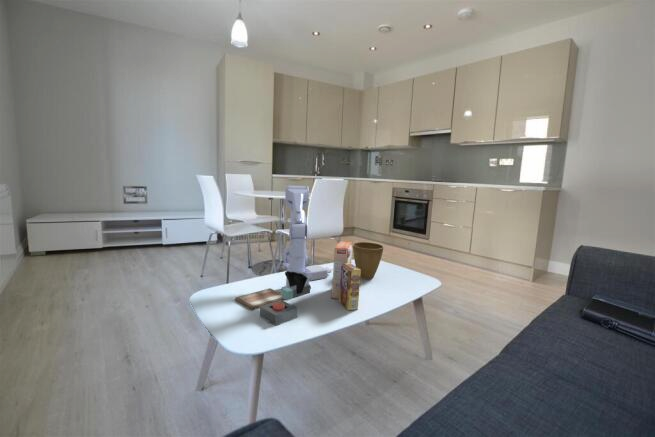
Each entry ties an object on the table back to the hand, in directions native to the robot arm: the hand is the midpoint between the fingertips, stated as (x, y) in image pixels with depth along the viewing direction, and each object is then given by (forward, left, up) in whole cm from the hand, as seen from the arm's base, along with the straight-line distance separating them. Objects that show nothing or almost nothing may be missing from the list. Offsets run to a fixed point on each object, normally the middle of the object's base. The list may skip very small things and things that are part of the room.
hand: (296, 291), depth 116 cm
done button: (+11, +4, -3) cm, 12 cm away
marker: (0, 0, -2) cm, 2 cm away
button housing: (+11, +4, -5) cm, 13 cm away
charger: (-31, -19, -6) cm, 37 cm away
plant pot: (-48, -4, -5) cm, 48 cm away
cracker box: (-22, +3, -5) cm, 23 cm away
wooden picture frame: (+7, -12, -5) cm, 15 cm away
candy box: (-15, +13, -5) cm, 21 cm away
